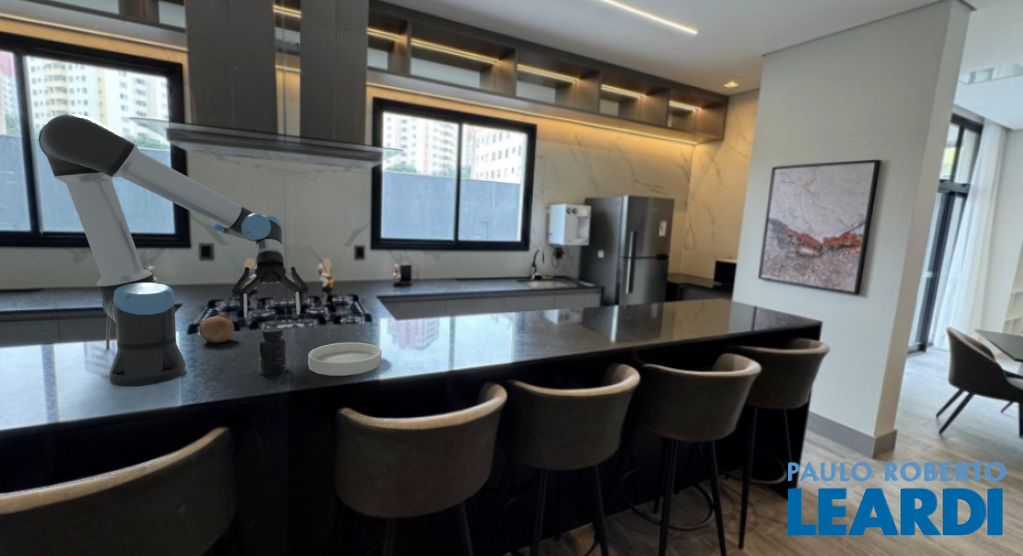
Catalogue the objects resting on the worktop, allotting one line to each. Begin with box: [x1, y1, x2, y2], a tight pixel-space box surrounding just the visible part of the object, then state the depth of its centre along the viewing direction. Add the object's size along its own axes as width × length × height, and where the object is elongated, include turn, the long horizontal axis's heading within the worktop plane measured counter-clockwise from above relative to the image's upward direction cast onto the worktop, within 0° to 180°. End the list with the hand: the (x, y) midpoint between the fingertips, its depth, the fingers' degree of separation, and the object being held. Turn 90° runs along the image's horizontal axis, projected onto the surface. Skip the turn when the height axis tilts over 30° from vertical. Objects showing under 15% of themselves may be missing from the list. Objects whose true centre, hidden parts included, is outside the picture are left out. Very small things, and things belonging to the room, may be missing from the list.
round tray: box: [307, 342, 382, 376], centre depth 130 cm, size 20×20×4 cm
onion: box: [199, 313, 235, 344], centre depth 143 cm, size 10×9×10 cm
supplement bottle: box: [258, 327, 288, 376], centre depth 119 cm, size 7×7×12 cm
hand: (272, 313), depth 127 cm, fingers open, 13 cm apart
